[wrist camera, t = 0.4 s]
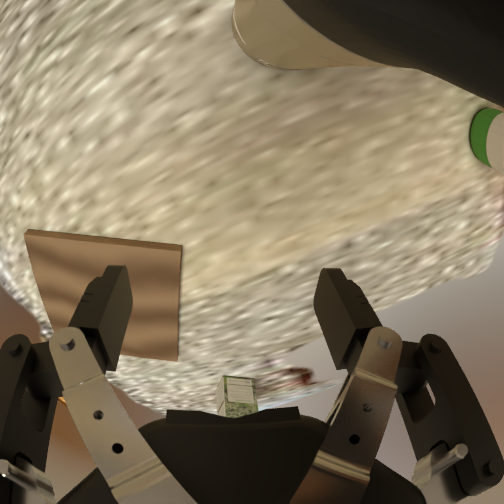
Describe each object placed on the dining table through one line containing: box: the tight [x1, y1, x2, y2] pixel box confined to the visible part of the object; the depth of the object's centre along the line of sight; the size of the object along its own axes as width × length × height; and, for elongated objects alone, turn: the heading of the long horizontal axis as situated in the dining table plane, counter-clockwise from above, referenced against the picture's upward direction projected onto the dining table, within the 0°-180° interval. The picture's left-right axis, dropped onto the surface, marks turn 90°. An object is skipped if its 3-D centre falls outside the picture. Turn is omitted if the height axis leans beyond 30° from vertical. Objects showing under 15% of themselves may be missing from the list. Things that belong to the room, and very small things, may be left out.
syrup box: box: [216, 376, 258, 418], centre depth 42 cm, size 6×6×14 cm
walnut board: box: [24, 229, 182, 361], centre depth 34 cm, size 20×20×1 cm
